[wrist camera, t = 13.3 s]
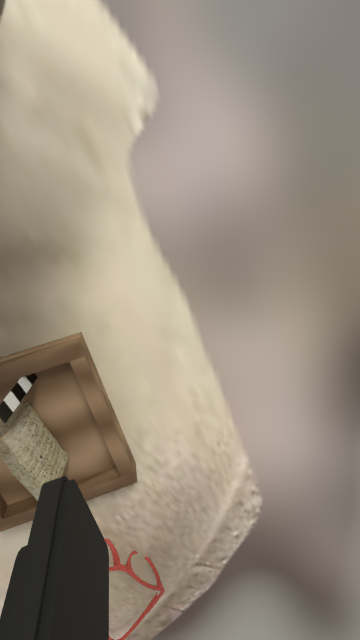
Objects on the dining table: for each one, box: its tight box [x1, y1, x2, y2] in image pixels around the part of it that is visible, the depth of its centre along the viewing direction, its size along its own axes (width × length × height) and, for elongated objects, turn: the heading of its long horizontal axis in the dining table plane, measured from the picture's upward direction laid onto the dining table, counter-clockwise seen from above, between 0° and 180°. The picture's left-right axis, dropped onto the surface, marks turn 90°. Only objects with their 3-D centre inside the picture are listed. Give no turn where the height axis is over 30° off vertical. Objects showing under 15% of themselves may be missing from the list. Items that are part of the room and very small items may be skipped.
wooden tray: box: [0, 333, 137, 532], centre depth 38 cm, size 19×17×3 cm
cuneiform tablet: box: [0, 373, 68, 501], centre depth 35 cm, size 7×4×12 cm
